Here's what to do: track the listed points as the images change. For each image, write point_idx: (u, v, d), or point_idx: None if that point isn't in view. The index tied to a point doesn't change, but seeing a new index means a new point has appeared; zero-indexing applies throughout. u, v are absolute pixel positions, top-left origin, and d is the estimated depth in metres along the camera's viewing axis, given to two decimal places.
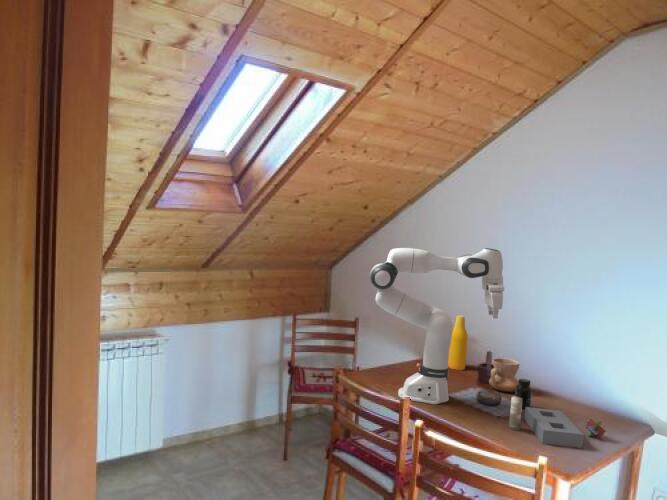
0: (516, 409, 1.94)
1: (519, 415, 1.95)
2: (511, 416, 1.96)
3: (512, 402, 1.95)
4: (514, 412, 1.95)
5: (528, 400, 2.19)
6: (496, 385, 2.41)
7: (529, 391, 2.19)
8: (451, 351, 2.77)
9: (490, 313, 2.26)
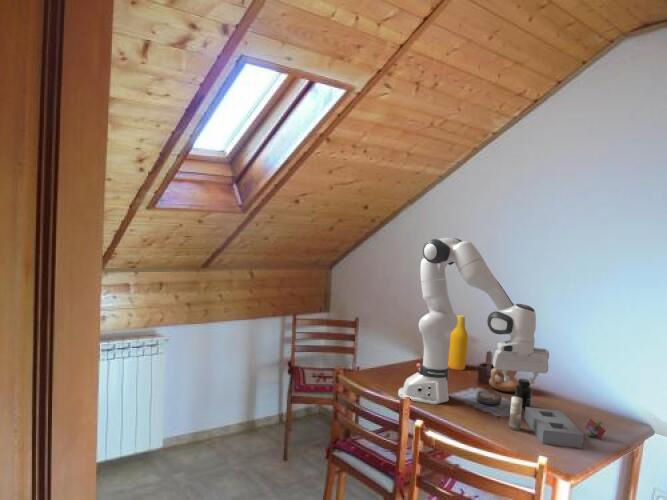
0: (516, 409, 1.94)
1: (519, 415, 1.95)
2: (511, 416, 1.96)
3: (512, 402, 1.95)
4: (514, 412, 1.95)
5: (528, 400, 2.19)
6: (496, 385, 2.41)
7: (529, 391, 2.19)
8: (451, 351, 2.77)
9: (529, 381, 1.95)
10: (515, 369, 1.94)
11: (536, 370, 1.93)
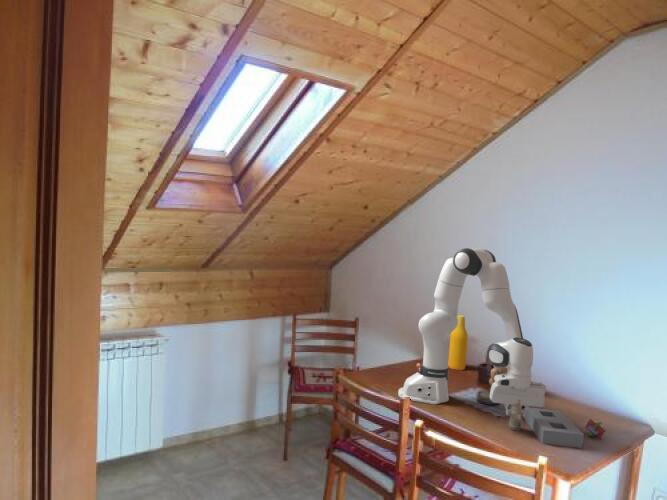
0: (516, 409, 1.94)
1: (519, 415, 1.95)
2: (511, 416, 1.96)
3: None
4: (514, 412, 1.95)
5: None
6: None
7: None
8: (451, 351, 2.77)
9: None
10: (511, 403, 1.95)
11: (532, 404, 1.94)
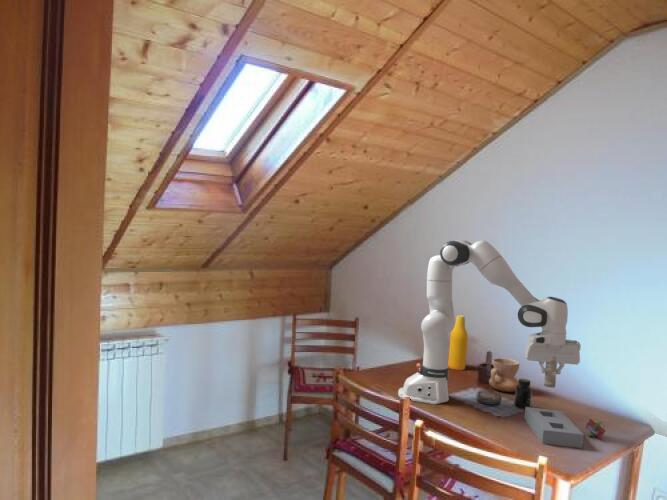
0: (552, 367, 1.97)
1: (554, 372, 1.98)
2: (546, 374, 1.99)
3: None
4: (549, 369, 1.98)
5: (528, 400, 2.19)
6: (496, 385, 2.41)
7: (529, 391, 2.19)
8: (451, 351, 2.77)
9: None
10: (547, 360, 1.98)
11: (568, 361, 1.97)
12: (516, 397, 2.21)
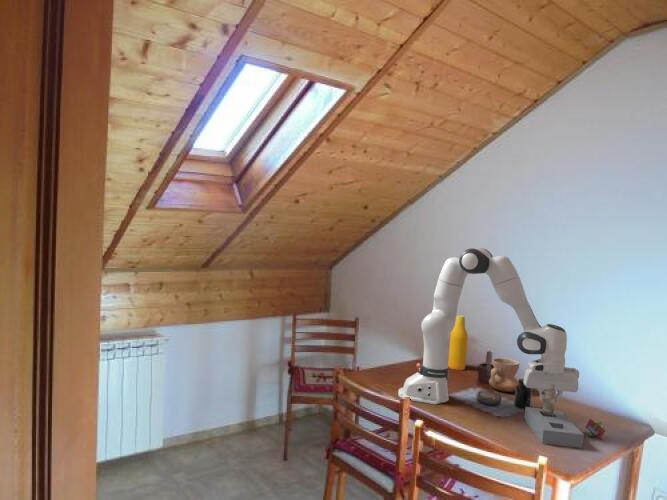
0: (551, 394, 1.98)
1: (553, 400, 1.99)
2: (545, 401, 2.00)
3: None
4: (548, 397, 1.99)
5: (528, 400, 2.19)
6: (496, 385, 2.41)
7: (529, 391, 2.19)
8: (451, 351, 2.77)
9: None
10: (546, 388, 1.99)
11: (566, 389, 1.98)
12: (516, 397, 2.21)
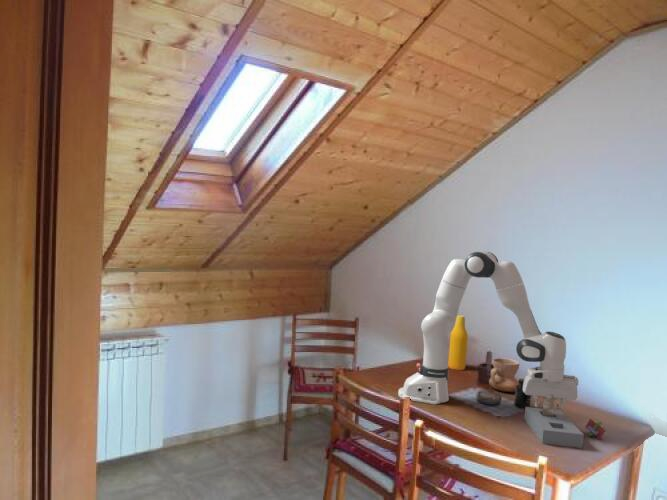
0: (549, 404, 1.99)
1: (552, 410, 1.99)
2: (544, 410, 2.00)
3: (545, 397, 2.00)
4: (547, 406, 1.99)
5: (528, 400, 2.19)
6: (496, 385, 2.41)
7: None
8: (451, 351, 2.77)
9: (557, 406, 2.01)
10: (545, 395, 1.99)
11: (565, 397, 1.98)
12: (516, 397, 2.21)
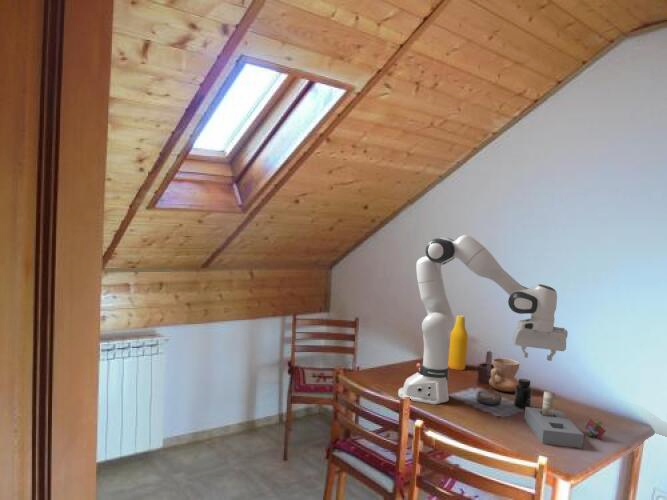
0: (549, 404, 1.99)
1: (552, 410, 1.99)
2: (544, 411, 2.00)
3: (545, 397, 2.00)
4: (546, 406, 1.99)
5: (528, 400, 2.19)
6: (496, 385, 2.41)
7: (529, 391, 2.19)
8: (451, 351, 2.77)
9: (547, 358, 2.05)
10: (534, 346, 2.03)
11: (554, 348, 2.02)
12: (516, 397, 2.21)
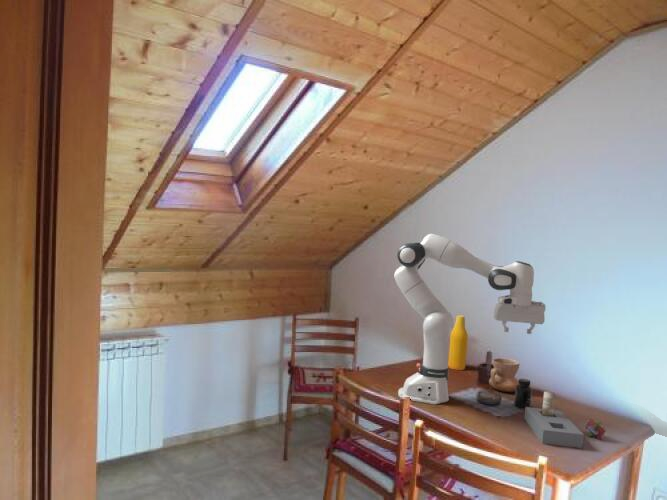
0: (549, 404, 1.99)
1: (552, 410, 1.99)
2: (544, 411, 2.00)
3: (545, 397, 2.00)
4: (546, 406, 1.99)
5: (528, 400, 2.19)
6: (496, 385, 2.41)
7: (529, 391, 2.19)
8: (451, 351, 2.77)
9: (527, 331, 2.13)
10: (514, 320, 2.12)
11: (533, 321, 2.11)
12: (516, 397, 2.21)
